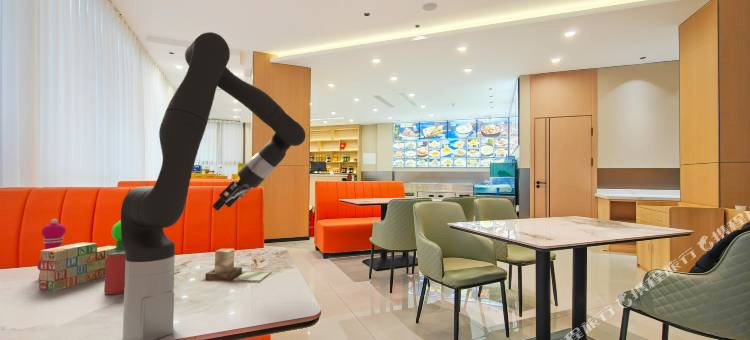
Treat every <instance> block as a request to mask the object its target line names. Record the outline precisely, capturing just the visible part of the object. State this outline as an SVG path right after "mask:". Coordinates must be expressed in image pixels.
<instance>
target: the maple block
mask: <svg viewBox="0 0 750 340" xmlns="http://www.w3.org/2000/svg"><path fill="white" fill-rule="evenodd" d="M234 267H235V248H220V249H217V250H215V251H214V269H215V273H230V272H232V271H233V270H234Z"/></svg>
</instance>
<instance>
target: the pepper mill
mask: <svg viewBox="0 0 750 340" xmlns="http://www.w3.org/2000/svg"><path fill="white" fill-rule="evenodd" d="M66 230H67V229H66V227H65V225H63V224H62V223H59V222H58V219H57V218H53V219H51V220H50V223H49V224H46V225H44V226H43V228H42V229H41V235H42V237H44V238H43V242H42V243H43V244H44V250H45V249H51V248H56V247H61V246H62V243H63V241H64V235H65V234H66V232H67V231H66ZM37 270H39V271H40V259H39V260H38V263H37ZM38 279H39V280H40V273H39V275H38Z"/></svg>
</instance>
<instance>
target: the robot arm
mask: <svg viewBox="0 0 750 340" xmlns="http://www.w3.org/2000/svg"><path fill="white" fill-rule="evenodd" d="M230 57H231V51H230V46H229V44H228V43H227V41H226V39H225V38H223V36H222V35H220V34H219V33H217V32H216V33H215V32H212V31H209V32H208V31H205V32H202V33H200V34H198V35H197V36H195V38H193V40H192V42H190V44H188V47H186V49H185V53H184V58H185V61H186V64H187V65H188V69H187V72H186V73H185V76H184V78H183V80H181V83H180V84H179V85H178V87H177V89H176V90H175V92H174V93H173V96H172V97H171V99H170V101H169V103H168V105H167V107H166V109H165V113H164V115H163V117H162V120H161V123H160V126H159V131H158V136H159V137H158V138H159V143H160V150H161V155H162V161H161V162H162V163H161V168H160V170H159V173H158V176H157V179H156V181H155V184H154V186H153V185H148V186H147V185H146V186H143V185H142V186H138V187H134V188H133V189H131V190H129V191H128V192H127V194H126V195H125V197H124V198H123V200H122V204H121V208H120V220H121V242H122V246H123V249H124V251H125V254H126V258H125V259H126V260H125V285H124V293H123V319H122V320H123V321H122V322H123V323H122V340H158V339H161V338H164V337H166V336H168V335H171V334H174V312H175V311H174V306H175V292H174V290H175V288H174V287H175V286H174V285H175V262H176V261H175V260H176V257H175V256H176V246H175V245H176V244H175V242H174V241H173V240H171V238H169V237H168V236H167V235H166V233H165V231H164V229H165V228H169V227H172V226H174V225H175V224H177V222H178V221H179V219H180V218H181V217H182V215H183V213H184V210H185V207H186V203H187V198H188V194H189V188H190V182H191V177H192V172H193V169H194V167H195V166H194V165H195V163H196V159H197V155H198V151H199V148H200V146H201V142H202V140H203V137H204V134H205V131H206V128H207V125H208V121H209V118H210V115H211V110H212V107H213V102H214V99H215V95H216V92H217V91H216V90H217V88H219V89H220V90H222V91H223V92H225V93H226V94H228V95H229V96H231V97H232V98H233V99H235V100H236V101H238V102H240V103H241V104H242V105H243V106H245V108H247V109H248V110H249V111H250V112H251V113H252V114H254V116H256V118H257V117H258V119H259V120H261V121H262V123H265V125H267V126H269V128H271V129H272V131H273V132H274V134H273V135H272V137H271V138H269V141H268V142H267V143H266V144H265V145H264V146H263V147H262V148H261V149H260V150H259V151H258V152H257V153H255V154H254V155H253V156H252V157H251V158H250V159H249V160H248V161H247V162H246V163H245V164H244V165H243V166H242V167H241V168H240V169H239V170H238V171H237V175H238V177H239V179H238V180H234V181H233V180H232V181H231V182H230V183H229V185H228V186H226V187H225V188H224V190H223V191H222V192H220V193H219V195H218V196H219V198H218V199H217V200H216V201H215V202H214V204H213V205H212V208H213V209H214V210H215V211H220V210H221V209H222V208H223V207H224V205H225V206H226V207H227V208H231V207H232V206H233V205H234V204H235V203H236V202H237V201H238V200H240V199H241V198H243V197H244V196H245V195H246V194H247V193H248V192H249V191H250V190H251V189H257V188H258V187H259V186H260V185H261V184H262V183H263V182H264V181H265V180H266V179H267V178H268V176H269V175H271V173H272V172H273V170H275V168H276V167H277V166H279V164H280V163H281V162H282V161H283V160H284V158H285V157H286V155H287V151H288V150H289V149H290V147H292V146H293V147H296V146H297V147H298V146H300V145H302V144H303V143H304V142H305V140H306V131H305V129H304V128H303V126H302V125H301V124H300V123H299V122H298V121H296V120H294V119H293V118H292V117H291V116H290V115H289V114H287V113H286V111H285V110H284V108H283V107H281V105H279V103H278V102H276V101H275V100H274V99H273V98H272V97H271V96H270V95H269V94H267V92H265V91H263V90H262V89H260V88H258V87H256V86H255V85H252V84H250V83H249V82H246V81H244V80H243V79H241V78H240V77H238V76H237V75H235V74H234V73H233V72H232V71H230V69H229V68H228V67H227V65H228V63H229V60H230Z"/></svg>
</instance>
